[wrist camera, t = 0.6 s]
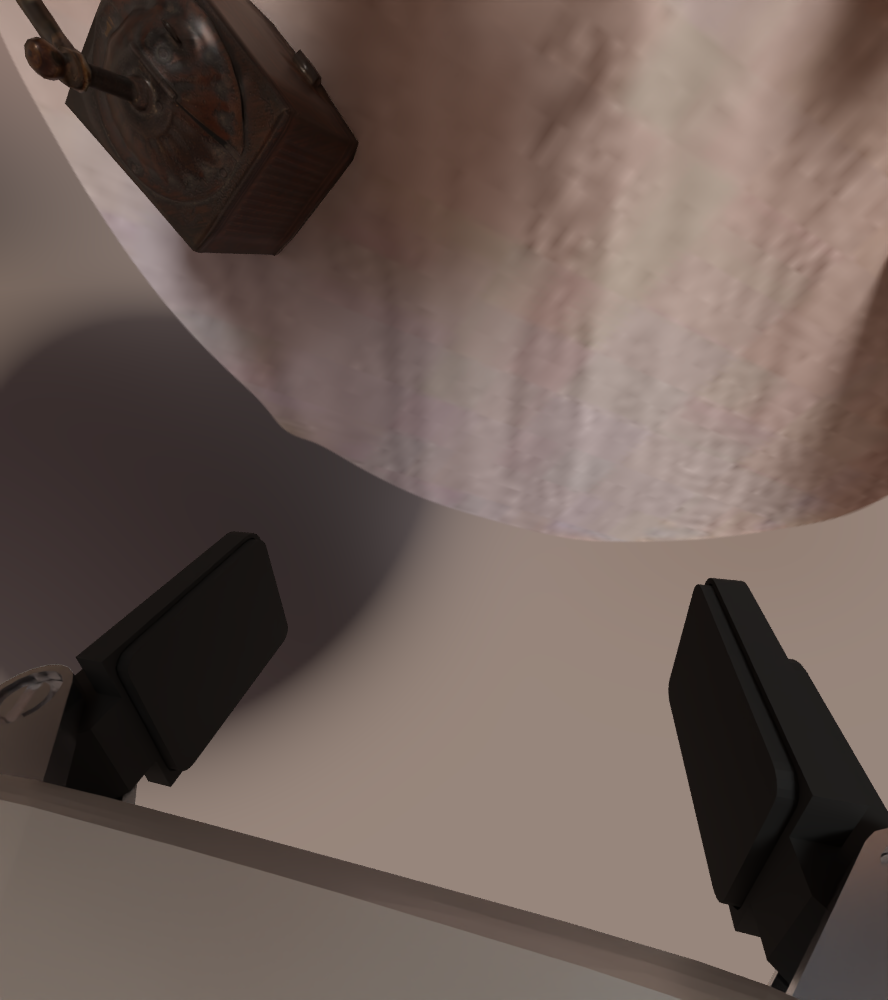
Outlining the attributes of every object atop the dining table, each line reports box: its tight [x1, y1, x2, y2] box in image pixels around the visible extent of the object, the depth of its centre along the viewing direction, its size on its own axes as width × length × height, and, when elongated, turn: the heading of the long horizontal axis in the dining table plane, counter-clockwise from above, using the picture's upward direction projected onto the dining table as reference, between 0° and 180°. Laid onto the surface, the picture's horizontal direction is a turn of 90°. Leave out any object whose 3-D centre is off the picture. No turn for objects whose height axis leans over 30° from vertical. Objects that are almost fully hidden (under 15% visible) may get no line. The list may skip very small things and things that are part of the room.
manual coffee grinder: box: [16, 0, 358, 256], centre depth 24 cm, size 16×11×18 cm
